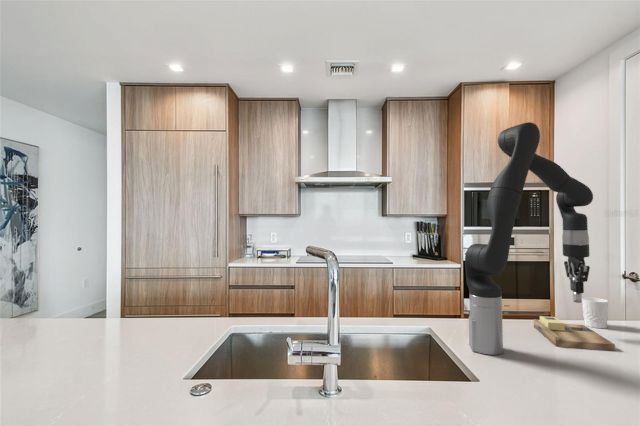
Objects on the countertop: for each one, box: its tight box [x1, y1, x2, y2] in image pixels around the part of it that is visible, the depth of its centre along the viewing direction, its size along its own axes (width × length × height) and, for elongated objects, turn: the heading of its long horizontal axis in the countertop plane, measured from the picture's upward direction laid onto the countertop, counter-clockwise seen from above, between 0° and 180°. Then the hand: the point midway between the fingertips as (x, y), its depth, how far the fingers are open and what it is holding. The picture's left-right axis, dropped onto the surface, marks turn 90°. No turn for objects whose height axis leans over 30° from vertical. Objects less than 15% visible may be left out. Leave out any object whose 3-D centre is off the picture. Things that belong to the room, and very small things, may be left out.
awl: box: [570, 276, 583, 304], centre depth 119 cm, size 3×3×9 cm
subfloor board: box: [533, 318, 616, 352], centre depth 116 cm, size 16×20×3 cm
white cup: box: [581, 296, 609, 329], centre depth 128 cm, size 8×8×10 cm
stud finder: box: [539, 315, 566, 331], centre depth 121 cm, size 5×8×3 cm, turn 165°
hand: (577, 291), depth 119 cm, fingers closed on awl, 3 cm apart
